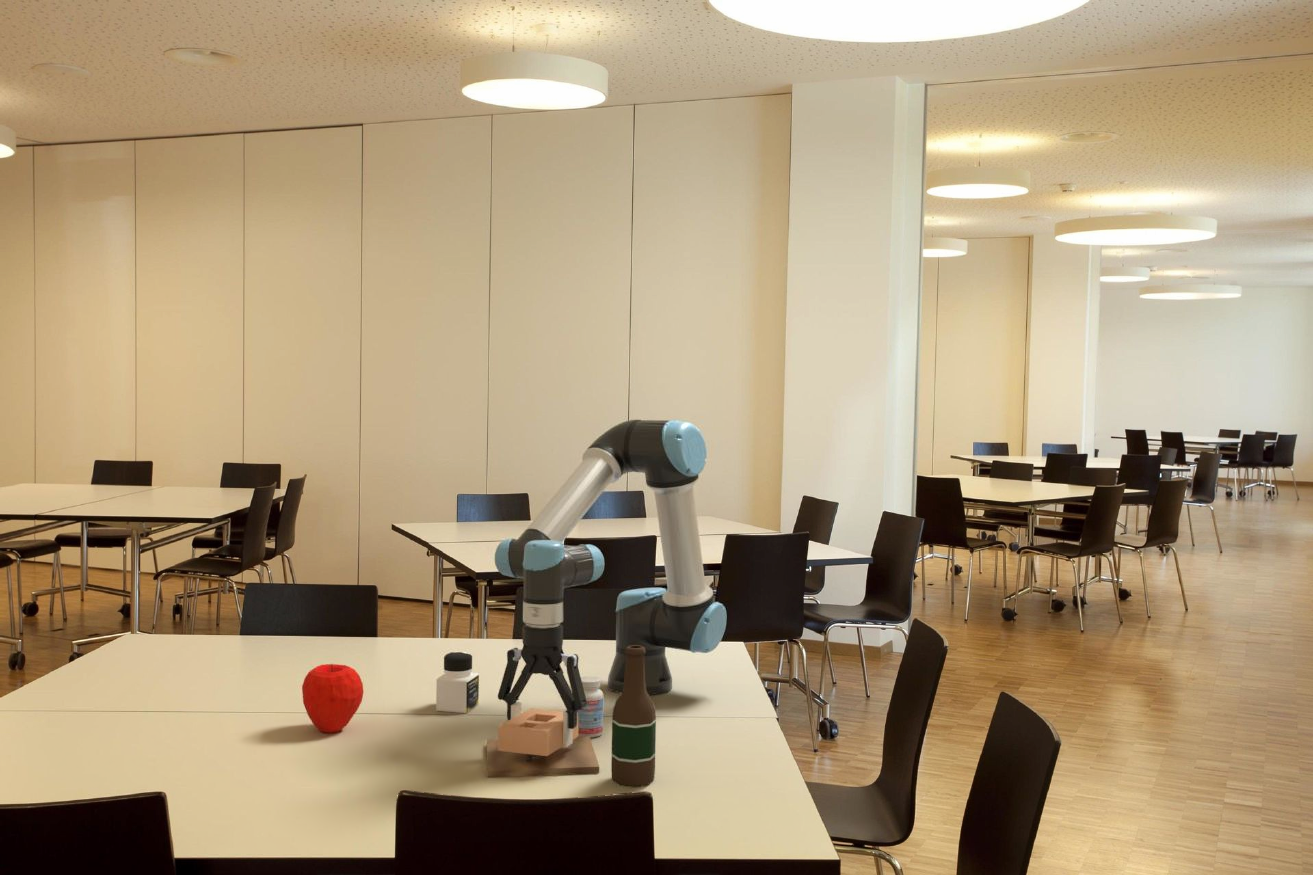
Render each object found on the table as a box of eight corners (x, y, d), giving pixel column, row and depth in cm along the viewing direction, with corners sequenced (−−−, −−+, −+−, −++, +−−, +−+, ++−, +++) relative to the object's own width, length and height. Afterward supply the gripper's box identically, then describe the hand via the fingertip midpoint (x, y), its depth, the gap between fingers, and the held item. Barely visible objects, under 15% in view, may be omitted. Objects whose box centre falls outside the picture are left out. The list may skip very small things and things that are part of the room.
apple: (374, 725, 226) (374, 660, 226) (340, 741, 215) (340, 673, 215) (325, 718, 230) (325, 655, 230) (289, 734, 219) (289, 667, 218)
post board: (589, 742, 217) (589, 710, 217) (599, 772, 200) (599, 739, 200) (486, 745, 214) (487, 713, 214) (487, 777, 197) (487, 742, 196)
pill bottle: (580, 740, 219) (580, 684, 218) (568, 731, 224) (568, 676, 224) (607, 736, 221) (608, 680, 221) (595, 728, 227) (596, 673, 226)
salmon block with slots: (531, 731, 214) (531, 708, 214) (578, 736, 210) (578, 712, 210) (498, 750, 202) (497, 726, 202) (547, 756, 198) (546, 731, 198)
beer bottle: (610, 772, 200) (612, 641, 199) (653, 772, 201) (655, 641, 200) (612, 788, 192) (614, 651, 191) (656, 787, 193) (659, 651, 192)
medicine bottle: (467, 713, 235) (467, 658, 235) (435, 711, 237) (436, 655, 236) (479, 704, 242) (479, 650, 242) (448, 702, 244) (449, 648, 243)
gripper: (479, 622, 207) (478, 739, 207) (590, 633, 199) (588, 755, 199) (499, 614, 214) (497, 728, 214) (606, 625, 206) (604, 743, 206)
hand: (541, 741), depth 207 cm, fingers closed on salmon block with slots, 10 cm apart
